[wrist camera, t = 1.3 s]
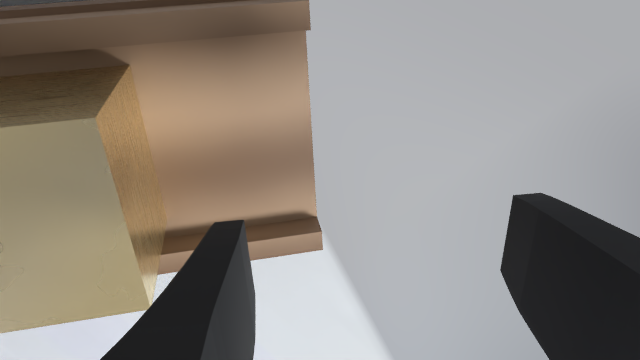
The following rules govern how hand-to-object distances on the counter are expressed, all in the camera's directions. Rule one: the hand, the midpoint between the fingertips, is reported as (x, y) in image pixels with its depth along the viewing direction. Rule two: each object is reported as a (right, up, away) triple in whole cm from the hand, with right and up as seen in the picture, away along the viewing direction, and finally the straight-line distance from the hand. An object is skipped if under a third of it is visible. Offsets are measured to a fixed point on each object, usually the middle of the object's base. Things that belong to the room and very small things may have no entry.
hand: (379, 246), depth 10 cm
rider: (-10, +2, +5) cm, 11 cm away
